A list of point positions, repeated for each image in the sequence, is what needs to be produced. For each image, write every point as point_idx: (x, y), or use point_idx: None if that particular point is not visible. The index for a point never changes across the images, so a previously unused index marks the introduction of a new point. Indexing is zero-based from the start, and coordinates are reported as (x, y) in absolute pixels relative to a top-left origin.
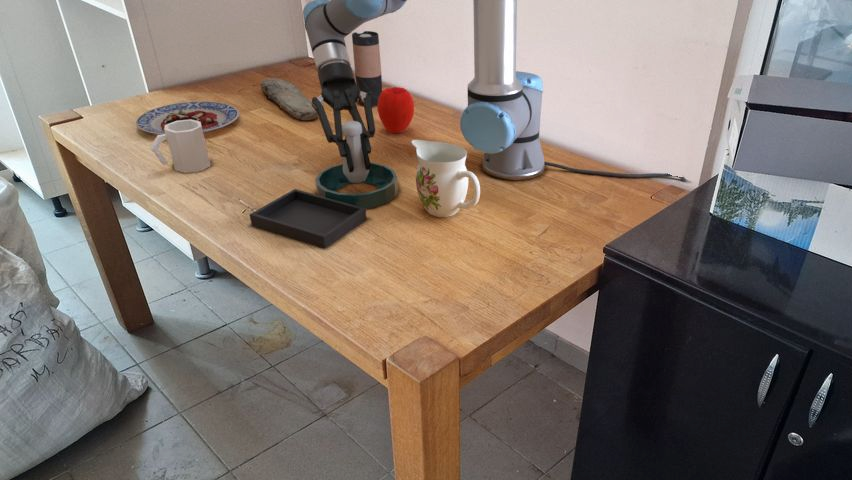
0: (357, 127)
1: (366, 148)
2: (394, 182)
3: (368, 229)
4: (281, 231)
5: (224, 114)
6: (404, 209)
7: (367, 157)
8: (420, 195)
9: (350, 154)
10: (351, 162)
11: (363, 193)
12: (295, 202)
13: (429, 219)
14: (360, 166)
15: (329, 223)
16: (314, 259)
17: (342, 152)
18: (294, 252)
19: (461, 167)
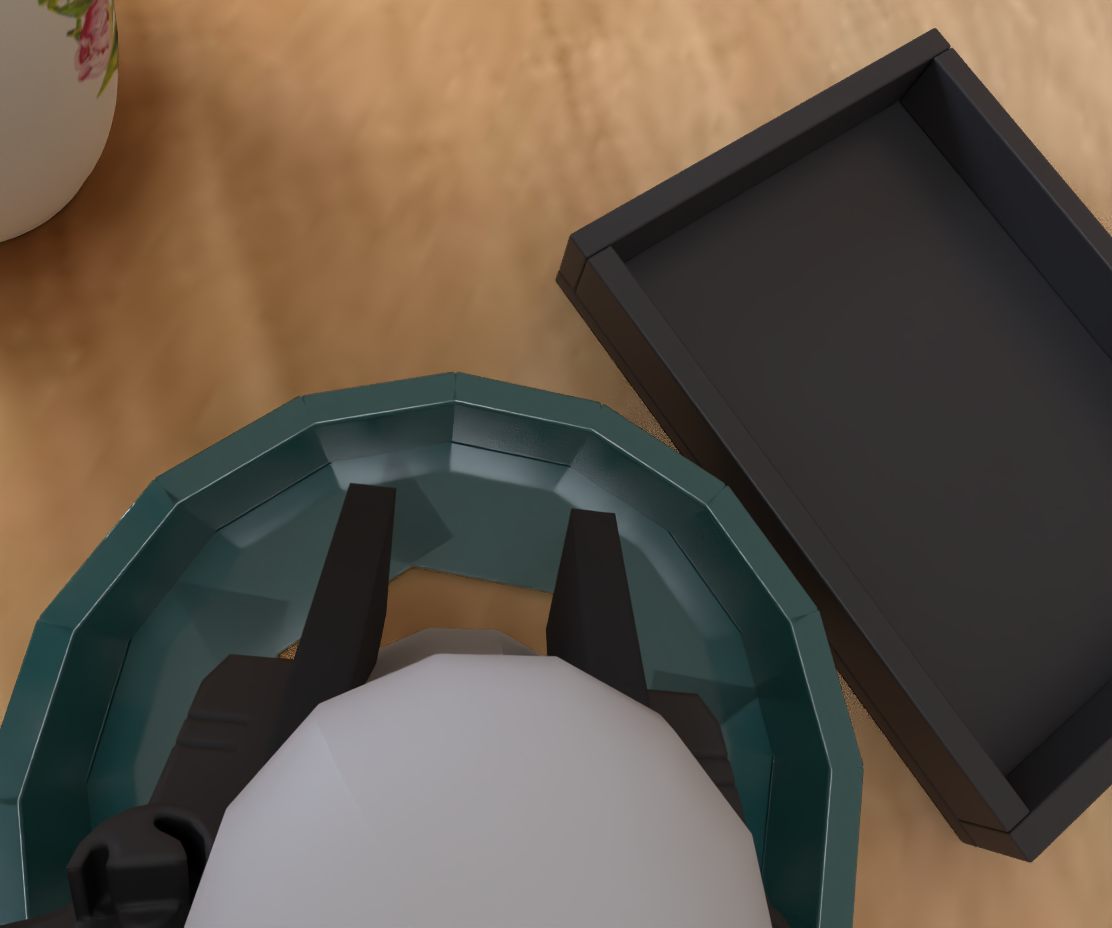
0: (401, 686)
1: (302, 647)
2: (144, 490)
3: (591, 154)
4: None
5: None
6: (234, 285)
7: (353, 550)
8: (110, 6)
9: (587, 630)
10: (593, 549)
11: (520, 398)
12: (993, 741)
13: (147, 71)
14: (444, 638)
15: (819, 302)
16: (961, 18)
17: (689, 723)
18: (1050, 130)
19: None
